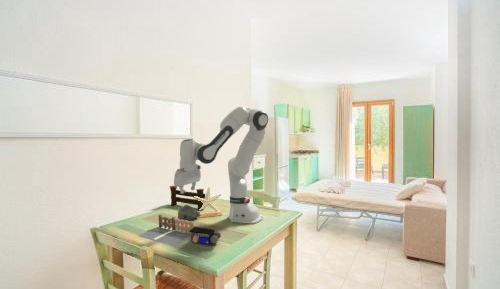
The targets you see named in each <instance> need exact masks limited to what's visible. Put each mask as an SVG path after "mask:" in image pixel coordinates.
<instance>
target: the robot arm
mask: <svg viewBox="0 0 500 289" xmlns="http://www.w3.org/2000/svg"><path fill="white" fill-rule="evenodd" d="M268 123H269V115H268V114H267V112H265V111H263V110H259V109H257V108H256V109H255V108H246V107H243V106H237V107H236V108H234V109H233V110H231V112H230V111H229V113H228V114H227V115H226V116H225V117H224V119H223V120H222V121H221V122H220V123H219V124H220V125H219V128H220V129H219V132H218V133H217V135H216V136H215V137H213V139H212V140H211V141H210V142H208V143H207V144H203V143H201V142H199V141H197V140H196V139H195V138H188V139H183V140H182V141H181V142H180V146H179V156H180V160H179V168H178V169H176V171H175V173H174V175H173V177H174V179H173V186H177V188H179V189H178V190H180V193H181V194H183V193H185V191H186V190H185V189H184V188H185V187H184V186H186V185H190V184H191V187H190V190H191V191H195V190H196V188H195V187H196V184H197V182H200V180H201V175H202V174H201V173H202V172H201V169H202V166H201V165H199V164H197V161H199V162H201V164H207V165H208V164H211V163H213V162H214V161H215V160H216V158H217V155H218V153H219V151H220V150H221V149H222V147H223V146H224V145H225V144H226V143H227V141H228V140H229V139H230V138H232V136H234V135H235V134H236V133H237V132H239V130H240V129H241V128H243V126H244V125H247V126H249V130H248V131H247V133H246V134H245V136H244V138H243V140H242V141H241V143H240V145H239V148H238V151H237V154H236V156H234V157H231V158H230V159H229V160H228V162H227V169H228V170H227V171H228V179H229V189H230V190H229V191H230V192H229V193H230V194H229V206H230V207H229V214H228V220H230V222H232V223H241V224H242V223H243V224H257V223H259V222H261V221H262V220H263V219H264V216H263V215H262V214H260V209H259V208H258V206H256V205H255V204H254V203H253V202H251V199H252V196H250V197H249V195H248V182H247V178H246V176H247V174H249V172H250V167H251V165H252V162H253V159H254V156H255V155H256V152H257V151H258V149H259V148H260V146H261V143H262V142H263V140H264V137H265V134H266V128H267V125H268Z"/></svg>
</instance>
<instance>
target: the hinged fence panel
mask: <svg viewBox="0 0 500 289" xmlns="http://www.w3.org/2000/svg"><path fill="white" fill-rule="evenodd" d="M175 222H176V225H175V228H177V230H180V229H181V231H184V230H185V232H188V231H190V230H191V229H192V228H194V227H195V221H193V220H191V221H190V220H185V221H184V220H179V219H178V218H175ZM189 233H193V232H189Z"/></svg>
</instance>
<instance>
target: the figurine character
mask: <svg viewBox="0 0 500 289" xmlns="http://www.w3.org/2000/svg"><path fill="white" fill-rule="evenodd" d="M189 232H193V234H192V235H191V238H189V239H190V242H192V243H193V244H197V243H201V244H206V245H207V244H208V245H209V246H215V244H217V243H218V242H219V240H220V238H221V237H222V233H221V232H220V231H215V228H207V227H199V226H194V228H192V229H191V230H190V231H189ZM200 234H201V235H200ZM203 235H204V236H203ZM205 235H206V236H205Z"/></svg>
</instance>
